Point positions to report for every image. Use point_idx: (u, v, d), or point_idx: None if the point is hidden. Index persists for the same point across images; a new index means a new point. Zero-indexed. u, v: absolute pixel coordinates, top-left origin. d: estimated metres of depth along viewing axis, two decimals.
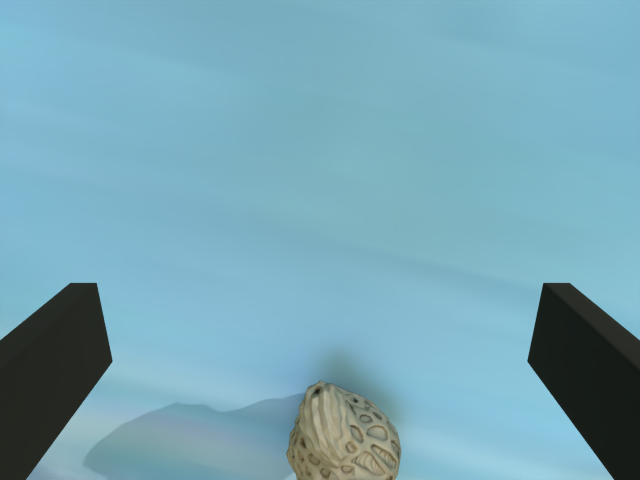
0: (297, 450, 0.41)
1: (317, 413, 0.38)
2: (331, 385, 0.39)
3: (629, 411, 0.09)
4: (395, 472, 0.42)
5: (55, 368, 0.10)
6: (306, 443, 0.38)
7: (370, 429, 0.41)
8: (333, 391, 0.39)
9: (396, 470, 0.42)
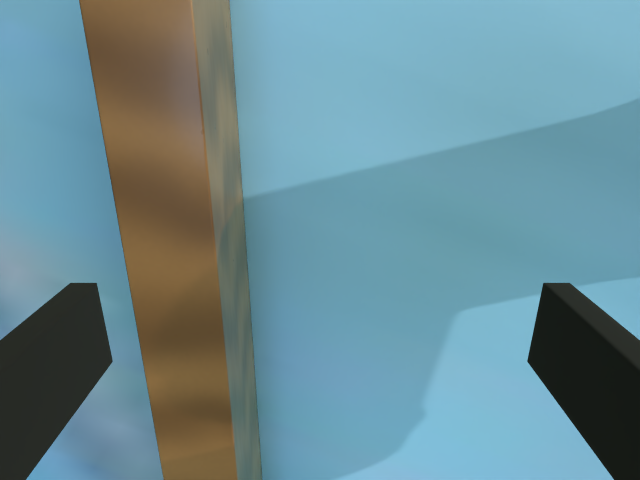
0: None
1: None
2: None
3: (629, 411, 0.09)
4: None
5: (55, 368, 0.10)
6: None
7: None
8: None
9: None
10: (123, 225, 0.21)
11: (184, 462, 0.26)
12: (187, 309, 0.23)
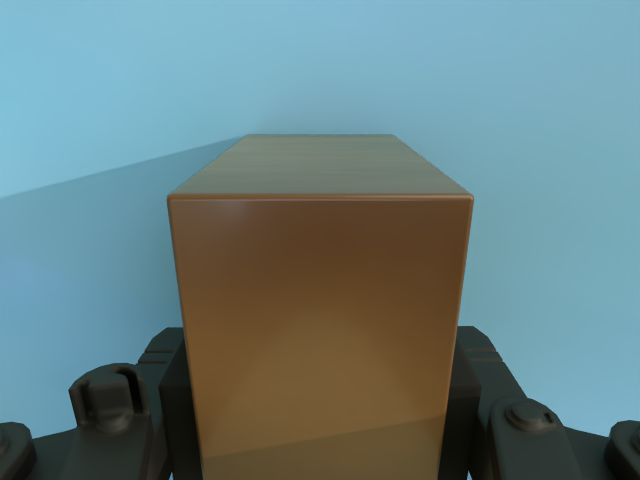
0: None
1: None
2: None
3: None
4: None
5: None
6: None
7: None
8: None
9: None
10: None
11: None
12: None
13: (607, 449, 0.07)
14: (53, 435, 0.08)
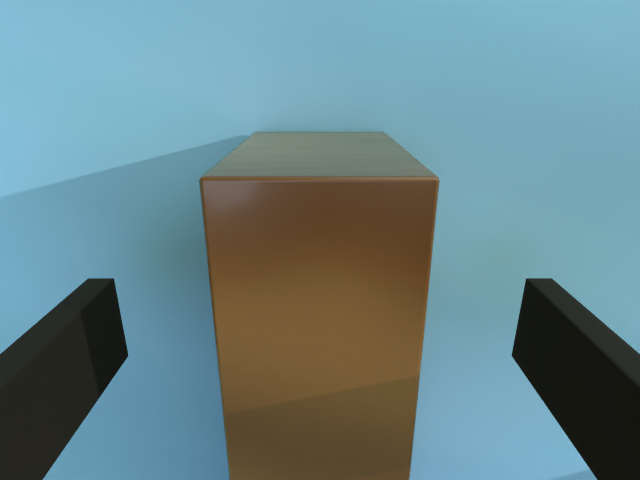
0: None
1: None
2: None
3: (603, 401, 0.09)
4: None
5: (76, 360, 0.11)
6: None
7: None
8: None
9: None
10: None
11: None
12: None
13: None
14: None
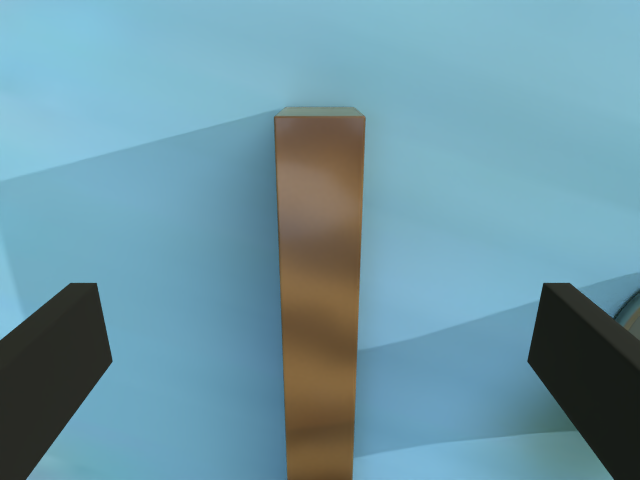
0: None
1: None
2: None
3: (629, 411, 0.09)
4: None
5: (55, 368, 0.10)
6: None
7: None
8: None
9: None
10: (286, 351, 0.27)
11: None
12: (328, 410, 0.29)
13: None
14: None
